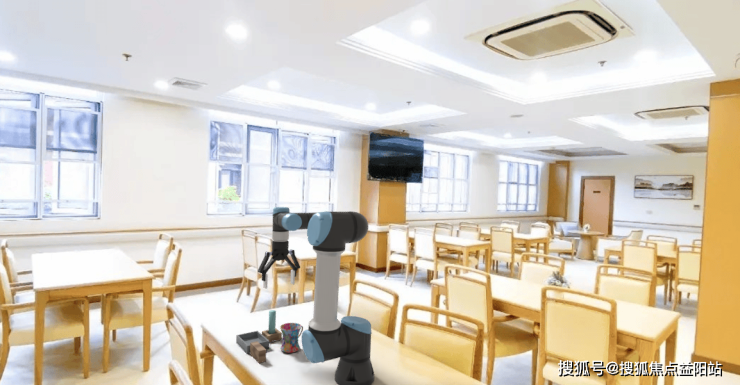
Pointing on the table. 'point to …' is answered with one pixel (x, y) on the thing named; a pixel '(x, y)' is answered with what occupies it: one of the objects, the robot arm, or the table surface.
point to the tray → (251, 340)
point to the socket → (272, 335)
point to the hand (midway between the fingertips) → (279, 285)
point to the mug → (290, 337)
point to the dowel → (272, 321)
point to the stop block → (258, 352)
